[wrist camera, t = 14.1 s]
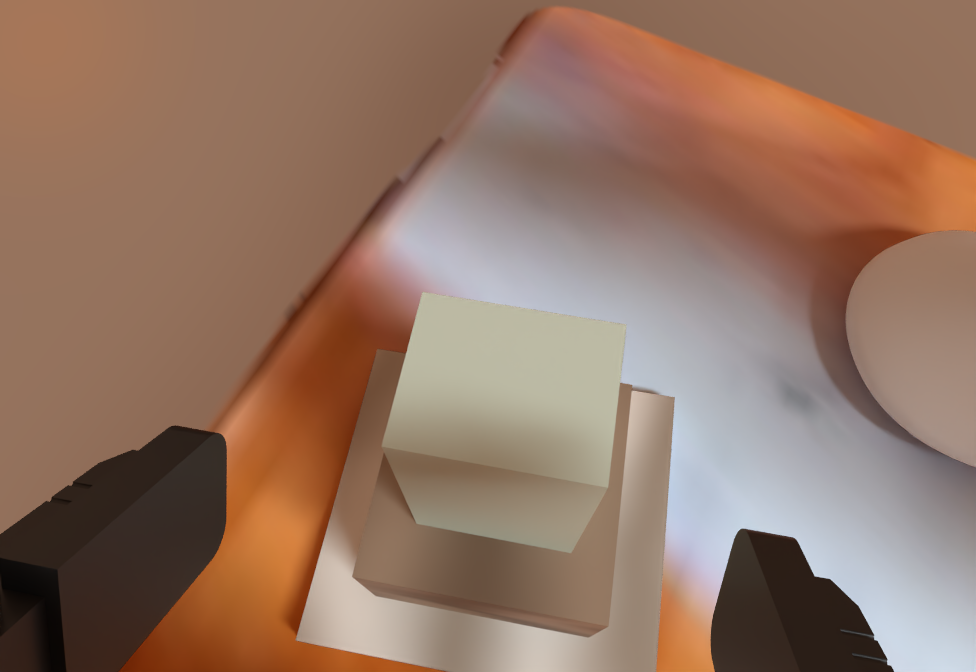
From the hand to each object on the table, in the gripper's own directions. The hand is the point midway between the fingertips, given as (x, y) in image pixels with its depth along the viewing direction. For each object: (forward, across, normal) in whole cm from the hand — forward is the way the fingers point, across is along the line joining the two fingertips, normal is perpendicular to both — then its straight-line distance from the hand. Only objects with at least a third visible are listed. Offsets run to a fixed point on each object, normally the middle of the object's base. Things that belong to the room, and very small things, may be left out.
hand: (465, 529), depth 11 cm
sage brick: (+11, 0, +5) cm, 13 cm away
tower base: (+16, 0, +10) cm, 18 cm away
